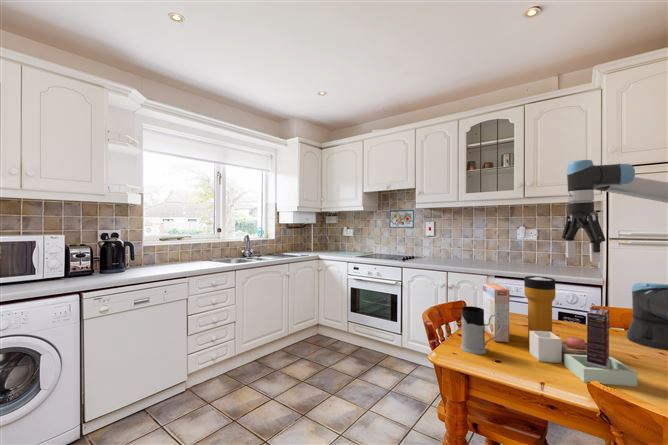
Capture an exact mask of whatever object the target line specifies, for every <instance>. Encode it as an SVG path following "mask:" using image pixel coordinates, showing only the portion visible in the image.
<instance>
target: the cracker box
mask: <svg viewBox="0 0 668 445" xmlns="http://www.w3.org/2000/svg"><path fill="white" fill-rule="evenodd" d="M482 293H483V294H482V296H483V298H482V299H483V300H482V302H483V304H482V305H483V308H482V309H483V310H484V324H489V318H490V316H491V315H494V314H496V315H499V316H500V317H501V318H502V321H503V327H502V330H501V332H500V333H499V335H498V336H497V337H495V338H494V339H492V341H494V342H497V343H498V342H499V343H510V289H509V288H506V287H504V286H502V285H500V284H498V283H494V282H493V283H491V282H490V283H489V282H488V283H487V282H484V283H482ZM499 316H492V317H491V319H490V324H489V325H488V326H485V333H486V335H488V336H489V337H490V339H491V338H493V337H494V336H495V335H497V334H498V332H499V331H500V329H501V324H502V321H501V318H500V317H499Z"/></svg>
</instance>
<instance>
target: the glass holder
mask: <svg viewBox="0 0 668 445" xmlns="http://www.w3.org/2000/svg"><path fill="white" fill-rule="evenodd" d="M492 316H499V315H496V314H494V315H491V316H490V318H489V324H490V319H491V317H492ZM499 317H500V316H499ZM500 318H501V317H500ZM501 321H502V318H501ZM489 324H484V310H483V308H481V307H477V306H471V305H470V306H469V305H466V306H463V307H461V345H460V349H461V350H462V351H463V352H466V353H469V354H473V355H484V354H485V353H487V350H486V345H487V343H489V342H491V341H493V339H494V338H495V337H497V336H498V335H499V333H500V332H501V330H502V327H503V321H502V324H501V329H500V331H499V332H498V334H497V335H495V336H494V337H493V338H491V337H490V338H489V339H488V340H486V339H485V338H486V334H485V333H486V332H485V326H488V325H489Z"/></svg>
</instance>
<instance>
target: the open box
mask: <svg viewBox="0 0 668 445" xmlns="http://www.w3.org/2000/svg"><path fill="white" fill-rule="evenodd" d="M561 341H562V338H561V337H559V336H557V335H556V334H555V333H554V332H553V331H552V332H544V331H529V341H528V344H529V354H530V355H531V356H532V357H533V358H535V360H537V361H538V362H540V363H541V362H544V363H557V364H558V363H560V364H563V362H562V342H561Z"/></svg>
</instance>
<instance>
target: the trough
mask: <svg viewBox="0 0 668 445" xmlns="http://www.w3.org/2000/svg"><path fill="white" fill-rule="evenodd" d="M563 364H564V367H565V368H566V369H567V368H568V371H570V372H571V373H572V374H573V373H574V374H573V375H574V376H576V377H577V378H578V377H579V378H580V379H579V378H578V379H579V380H581V381H582V382H583V383H588V382H590V381H594V380H595V381H598V382H600V383H602V384H601V385H603V384H604V385H615V386H628V387H638V372H637V371H635V369H632V368H631V367H629V366H627V365H626V364H624V363H622V362H621V361H620V360H617V359H616V358H614V357H612V356H609V361H608V364H607V369H603V368H599V367H595V366H592V365H588V364H587V355H574V354H564V363H563ZM600 383H599V384H600Z"/></svg>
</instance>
